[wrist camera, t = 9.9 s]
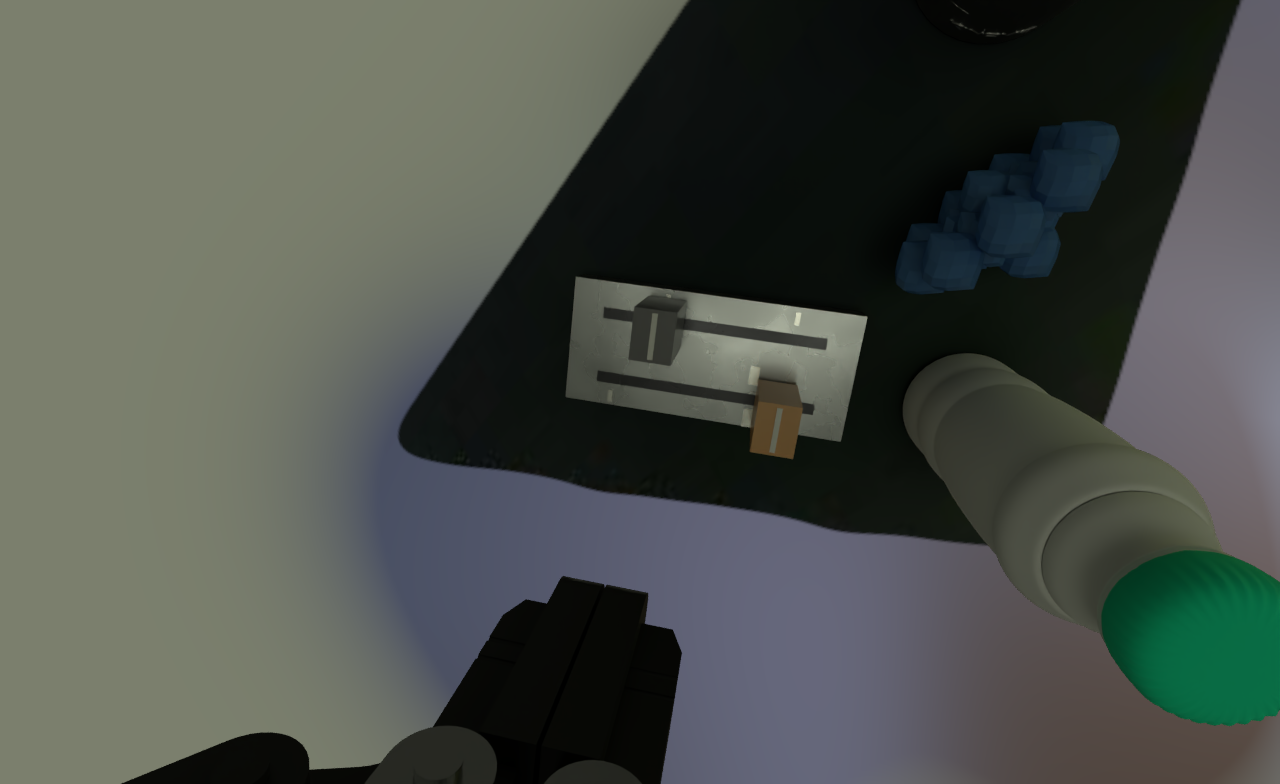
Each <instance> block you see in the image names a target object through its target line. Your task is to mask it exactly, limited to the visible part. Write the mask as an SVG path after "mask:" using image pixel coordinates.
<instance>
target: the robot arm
mask: <svg viewBox="0 0 1280 784" xmlns="http://www.w3.org/2000/svg"><path fill="white" fill-rule="evenodd" d="M916 1H917V3H918V5H919V8H920V9H921V10H922V12H923V13H924V14H925V16H926V17H927V18H928V20H929V21H930V22H931V23H932V24H934V25H935V26H936V27H937V28H938V29H940V30H941V31H942V32H943V33H945V34H947V35H950V36H952V37H954V38H956V39H958V40H961V41H966V42H971V43H976V44H988V43H1000V42H1004V41H1008V40H1012V39H1016V38H1018V37H1020V36H1022V35H1025V34H1027V33H1029V32H1031V31H1033V30H1035V29H1037V28H1038V27H1040V26H1041V25H1043V24H1044V23H1046V22H1047V21H1049V20H1051V19H1052V18H1054V17H1055V16H1057V15H1058V14H1060V13H1061V12H1063V11H1064V10H1066V9H1068V8H1069V7H1071V6H1072V5H1074V4H1076V3H1077V2H1079V1H1080V0H916ZM647 603H648V593H646V592H640V591H635V590H631V589H626V588H620V587H616V586H611V585H606V587H604V584H600V583H595V582H590V581H585V580H580V579H575V578H570V577H565V576H563V577H562V578H561V579H560V581H559V582H558V584H557V586H556V588H555V590H554V592H553V594H552V596H551V597H550V599H549V601H548V603H547V604H546V603H541V602H536V601H531V600H524V601H523V602H522V603H520V604H519V605H517V606H516V607H514V608H513V609H511V610H510V611H508V612H507V613H505V614H504V615H503V616H502V618H501V619H500V621H499V622H498V624H497V626H496V627H495V629H494V631H493V632H492V634H491V635H490V638H489V641H486V643H485V645H484V646H483V648H482V649H481V651H480V653H479V655H478V658H477V659H475V661H474V662H473V664H472V665H471V667H470V669H469V670H468V672H467V673H466V675H465V677H464V678H463V680H462V681H461V683H460V685H459V686H458V688H457V689H456V691H455V693H454V694H453V696H452V697H451V699H450V701H449V702H448V704H447V706H446V707H445V709H444V710H443V712H442V713H441V715H440V717H439V718H438V720H437V721H436V723H435V725H434V726H433V727H432V728H428V729H425V730H421V731H418V732H416V733H414V734H412V735H410V736H408V737H407V738H405V739H404V740H402V741H401V742H399V743H398V744H397V745H396V746H395V747H394V748H393V749H392V750H391V751H390V752H389V753H388V754H387V756H386V757H385V758H384V759H383V761H382V762H381V763H379V764H375V765H371V766H363V767H351V768H335V769H334V768H333V769H315V770H309V757H308V754H307V751H306V750H305V748H304V747H303V745H302V744H301V743H300V742H298V741H297V740H296V739H294V738H292V737H290V736H287V735H283V734H279V733H254V734H249V735H245V736H241V737H237V738H234V739H231V740H229V741H226V742H224V743H221V744H218V745H216V746H213V747H211V748H208V749H206V750H203V751H201V752H199V753H196V754H194V755H191V756H189V757H186V758H184V759H181V760H179V761H176V762H174V763H171V764H169V765H166V766H164V767H161V768H159V769H156V770H154V771H151V772H149V773H147V774H144V775H142V776H139V777H137V778H134V779H132V780H129V781H127V782H125V783H122V784H661V778H662V772H663V766H664V760H665V754H666V748H667V742H668V736H669V730H670V724H671V717H672V712H673V705H674V699H675V693H676V686H677V680H678V674H679V667H680V660H681V655H682V652H681V649H680V647H679V644H678V642H677V639H676V637H675V634H674V632H673V630H672V629H667V628H662V627H657V626H652V625H647V624H645V617H646V611H647Z"/></svg>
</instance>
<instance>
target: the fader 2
mask: <svg viewBox="0 0 1280 784" xmlns="http://www.w3.org/2000/svg"><path fill="white" fill-rule="evenodd" d="M802 410H803V407H802V402H801V398H800V394H799V390H798V386H797V385H793V384H786V383H780V382H773V381H767V380H760V379H758V384H757V389H756V395H755V401H754V407H753V413H752V418H751V424H750V452H754V453H760V454H766V455H772V456H778V457H784V458H790V459H793V456H794V451H795V446H796V441H797V436H798V431H799V426H800V420H801V415H802Z"/></svg>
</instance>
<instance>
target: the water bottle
mask: <svg viewBox="0 0 1280 784" xmlns="http://www.w3.org/2000/svg"><path fill="white" fill-rule="evenodd" d="M903 420H904V424H905V427H906V430H907V432H908V434H909V436H910V438H911V439H912V441H913V442H914V444H915V445H916V446H917V447H918V449H919V450H920V451H921V452H922V453H923V454H924V456H925V458H926V459H927V461H928V463H929V464H930V466H931V467H932V469H933V470H934V471H935V472H936V474H937V475H938V476H939V477H940V478H941V479H942V480H943V481H944V482H945V484H946V486H947V488H948V489H949V491H950V493H951V495H952V496H953V498H954V499H955V501H956V503H957V504H958V506H959V507H960V509H961V510H962V512H963V513H964V515H965V516H966V517H967V519H968V520H969V522H970V523H971V524H972V526H973V527H974V528H975V530H976V531H977V532H978V534H979V535H980V536H981V537H982V539H983V540H984V541H985V542H986V544H987V545H988V546H989V547H990V548H991V549H992V551H993V552H994V553H995V554H996V555H997V558H998V561H999V563H1000V565H1001V567H1002V568H1003V570H1004V572H1005V574H1006V575H1007V577H1008V578H1009V580H1010V581H1011V582H1012V583H1013V585H1014V586H1015V587H1016V588H1017V589H1018V590H1019V591H1020V592H1021V593H1022V594H1023V595H1024V596H1025V597H1026V598H1027V599H1029V600H1030V601H1031V602H1032V603H1034V604H1035V605H1037V606H1038V607H1040V608H1041V609H1043V610H1045V611H1046V612H1048V613H1050V614H1052V615H1054V616H1056V617H1059V618H1061V619H1064V620H1067V621H1069V622H1072V623H1076V624H1079V625H1082V626H1085V627H1086V628H1088V629H1090V630H1093V631H1095V632H1098V633H1100V634H1101V636H1102V638H1103V640H1104V642H1105V643H1106V646H1107V648H1108V650H1109V652H1110V654H1111V656H1112V657H1113V659H1114V660H1115V662H1116V663H1117V665H1118V666H1119V668H1120V669H1121V671H1122V672H1123V673H1124V674H1125V676H1126V677H1127V678H1128V679H1129V681H1130V682H1131V683H1132V684H1133V685H1134V686H1135V687H1136V689H1138V691H1140V693H1141V694H1142V695H1143V696H1144V697H1145V698H1147V699H1148V700H1149V701H1151V702H1152V703H1153V704H1155V705H1157V706H1159V707H1161V708H1162V709H1163V710H1165V711H1167V712H1169V713H1173V714H1175V715H1176V716H1178V717H1180V718H1183V719H1190V720H1191V721H1193V722H1196V723H1207V724H1210V725H1214V726H1215V725H1220V724H1223V725H1227V726H1232V725H1234V724H1236V723H1239V724H1248V723H1249V722H1250V721H1251V720H1256V721H1261V720H1263V719H1264V717H1265V716H1276V715H1277V713H1278V711H1279V710H1280V582H1279V581H1277V580H1276V579H1274V578H1273V577H1271V576H1270V575H1268V574H1266V573H1265V572H1263V571H1261V570H1260V569H1258V568H1256V567H1254V566H1253V565H1251V564H1249V563H1246V562H1244V561H1242V560H1239V559H1237V558H1235V557H1233V556H1231V555H1229V554H1227V553H1224V552H1223V551H1222V548H1221V545H1220V543H1219V541H1218V539H1217V537H1216V534H1215V529H1214V525H1213V521H1212V518H1211V515H1210V513H1209V510H1208V508H1207V506H1206V504H1205V502H1204V500H1203V498H1202V497H1201V496H1200V494H1199V492H1198V491H1197V490H1196V489H1195V487H1194V486H1193V485H1192V484H1191V483H1190V482H1189V480H1188V479H1187V478H1186V477H1184V476H1183V475H1182V474H1181V473H1180V472H1179V471H1177V470H1176V469H1175V468H1173V467H1172V466H1171V465H1169V464H1168V463H1166V462H1164V461H1163V460H1161V459H1159V458H1157V457H1155V456H1153V455H1151V454H1149V453H1146V452H1144V451H1141V450H1138V449H1136V448H1134V447H1133V446H1132V445H1131V444H1129V443H1128V442H1127V441H1125V440H1124V439H1123V438H1121V437H1120V436H1118V435H1117V434H1116V433H1114V432H1112V431H1111V430H1110V429H1108V428H1107V427H1105V426H1104V425H1102V424H1101V423H1099V422H1097V421H1096V420H1094V419H1093V418H1091V417H1089V416H1088V415H1086V414H1084V413H1083V412H1081V411H1079V410H1077V409H1076V408H1074V407H1072V406H1070V405H1068V404H1067V403H1065V402H1063V401H1061V400H1059V399H1057V398H1054V397H1052V396H1050V395H1049V394H1047V393H1046V392H1045V391H1044V390H1043V389H1042V388H1040V387H1039V386H1038V385H1036V384H1035V383H1033V382H1032V381H1030V380H1028V379H1026V378H1024V377H1022V376H1020V375H1018V374H1017V373H1016V372H1014V371H1013V370H1012V369H1010V368H1009V367H1007V366H1006V365H1004V364H1003V363H1001V362H999V361H997V360H995V359H993V358H990V357H988V356H984V355H980V354H971V353H963V354H954V355H950V356H946V357H943V358H941V359H939V360H936V361H934V362H933V363H931V364H929V365H928V366H926V367H925V368H924V369H923V370H922V371H920V372H919V373H918V375H917V376H916V377H915V378H914V379H913V381H912V382H911V384H910V386H909V387H908V389H907V392H906V394H905V397H904V402H903Z"/></svg>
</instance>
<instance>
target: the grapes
mask: <svg viewBox="0 0 1280 784" xmlns="http://www.w3.org/2000/svg"><path fill="white" fill-rule="evenodd" d="M1119 144H1120V140H1119V136H1118V133H1117V131H1116V128H1115V126H1113V125H1111V124H1108V123H1105V122H1101V121H1074V122H1064V123H1062V125H1054V126H1044V127H1040V129H1039V131H1038V133H1037V136H1036V138H1035V140H1034V143H1033V146H1032V149H1031V153H1030V154H1022V153H1005V154H995V155H994V157H993V159H992V162H991V164H990V167H989V170H976V171H968V173H967V176H966V179H965V181H964V184H963V188H962V190H953V191H946V193H945V196H944V198H943V201H942V204H941V208H940V212H939V217H938V223H919V224H911V227H910V230H909V233H908V235H907V239H906V242H903V244H902V247H901V250H900V252H899V256H898V260H897V264H896V269H895V278H896V284H897V285H898V286H899V287H901V288H902V289H903V290H904V291H906V292H908V293H914V294H932V293H943V291H944V290H946V291H954V290H968V289H974V287H975V285H976V282H977V280H978V278H979V275H980V272H981V269H986V268H987V267H996V266H1000V268H1001V269H1002V270H1003V271H1004V272H1006V273H1007V274H1009V275H1010V276H1012V277H1020V278H1034V277H1047V276H1048V275H1049V273H1050V271H1051V269H1052V267H1053V265H1054V263H1055V261H1056V258H1057V256H1058V252H1059V248H1060V244H1061V243H1060V240H1059V237H1058V233H1057V232H1056V230H1055V229H1054V227H1055V225H1056V223H1057V221H1058V219H1059V217H1061V216H1062V214H1063V212H1080V211H1088V210H1089V208H1090V206H1091V204H1092V202H1093V200H1094V198H1095V196H1096V193H1097V191H1098V189H1099V187H1100V184H1101V180H1105V179H1106V177H1107V175H1108V173H1109V171H1110V169H1111V166H1112V164H1113V162H1114V160H1115V158H1116V156H1117V152H1118V148H1119Z"/></svg>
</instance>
